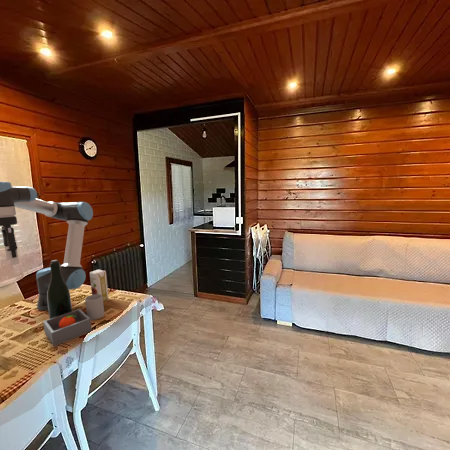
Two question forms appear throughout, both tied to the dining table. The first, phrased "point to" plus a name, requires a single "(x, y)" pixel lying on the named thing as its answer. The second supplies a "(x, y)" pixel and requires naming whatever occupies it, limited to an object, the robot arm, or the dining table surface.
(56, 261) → the wine bottle
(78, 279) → the robot arm
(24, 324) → the dining table surface
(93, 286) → the juice carton
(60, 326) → the tomato
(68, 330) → the bin
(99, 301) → the mug
